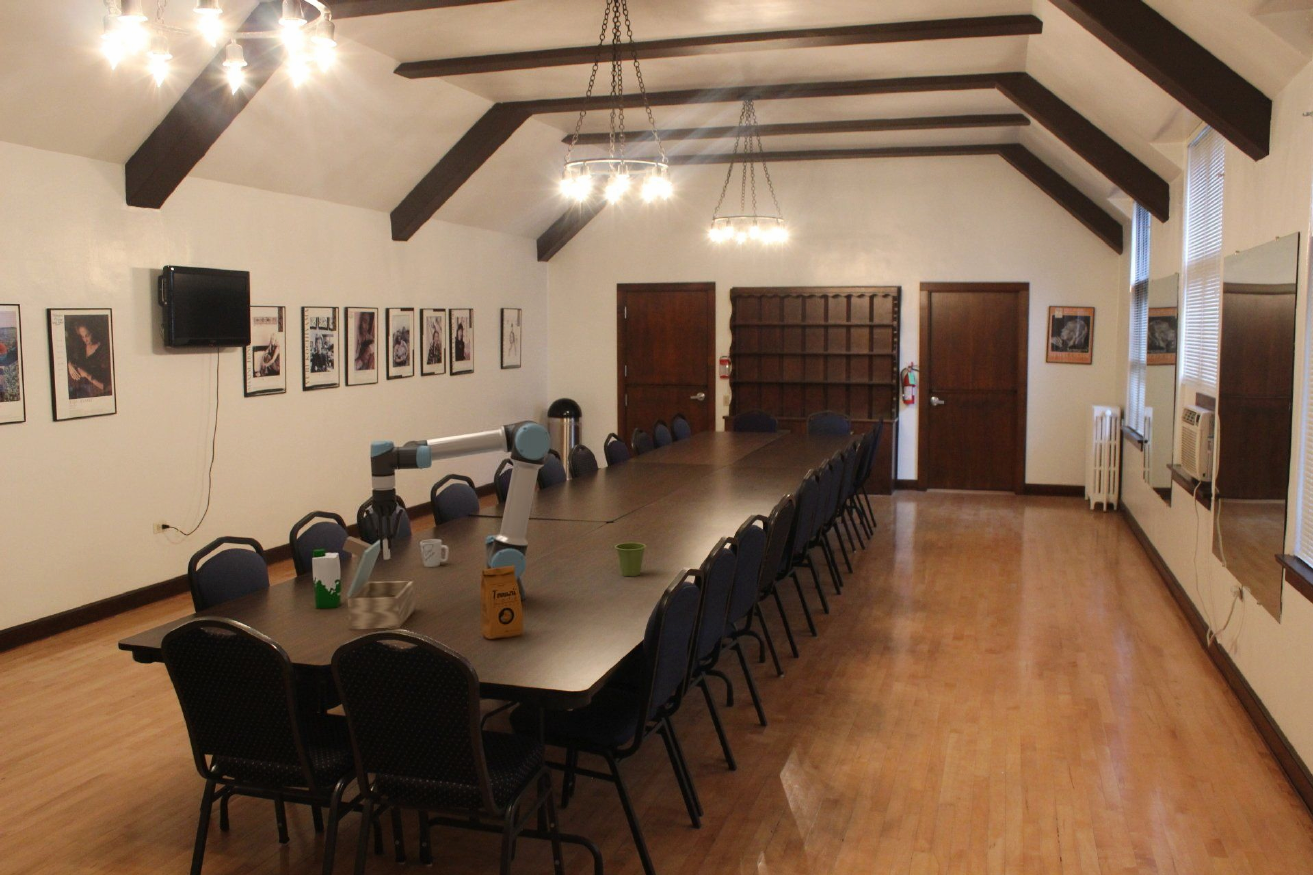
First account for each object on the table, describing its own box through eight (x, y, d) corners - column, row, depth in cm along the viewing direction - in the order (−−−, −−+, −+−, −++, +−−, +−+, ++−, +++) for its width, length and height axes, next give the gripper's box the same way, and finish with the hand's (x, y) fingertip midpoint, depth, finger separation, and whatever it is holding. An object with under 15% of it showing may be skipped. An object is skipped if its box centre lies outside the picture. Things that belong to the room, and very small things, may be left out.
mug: (452, 562, 428) (451, 538, 427) (446, 567, 419) (445, 543, 418) (425, 562, 429) (424, 538, 428) (418, 567, 421) (417, 543, 419)
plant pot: (610, 576, 400) (609, 547, 399) (625, 569, 411) (624, 541, 409) (637, 579, 395) (636, 550, 393) (651, 572, 405) (651, 544, 404)
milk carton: (317, 603, 370) (313, 547, 368) (343, 601, 372) (340, 546, 370) (313, 609, 362) (309, 553, 360) (340, 608, 363) (337, 551, 361)
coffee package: (526, 637, 326) (523, 568, 323) (486, 642, 321) (484, 572, 318) (517, 628, 335) (515, 561, 332) (479, 634, 330) (476, 565, 327)
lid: (384, 538, 356) (358, 528, 356) (367, 552, 335) (339, 541, 335) (367, 581, 358) (341, 570, 358) (349, 597, 337) (321, 586, 337)
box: (414, 609, 360) (413, 581, 358) (398, 628, 338) (397, 598, 337) (368, 610, 360) (366, 581, 359) (349, 629, 338) (347, 599, 337)
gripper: (406, 486, 347) (409, 555, 350) (367, 486, 347) (370, 556, 350) (400, 489, 340) (403, 560, 342) (360, 490, 340) (364, 561, 343)
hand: (386, 558), depth 346 cm, fingers closed
